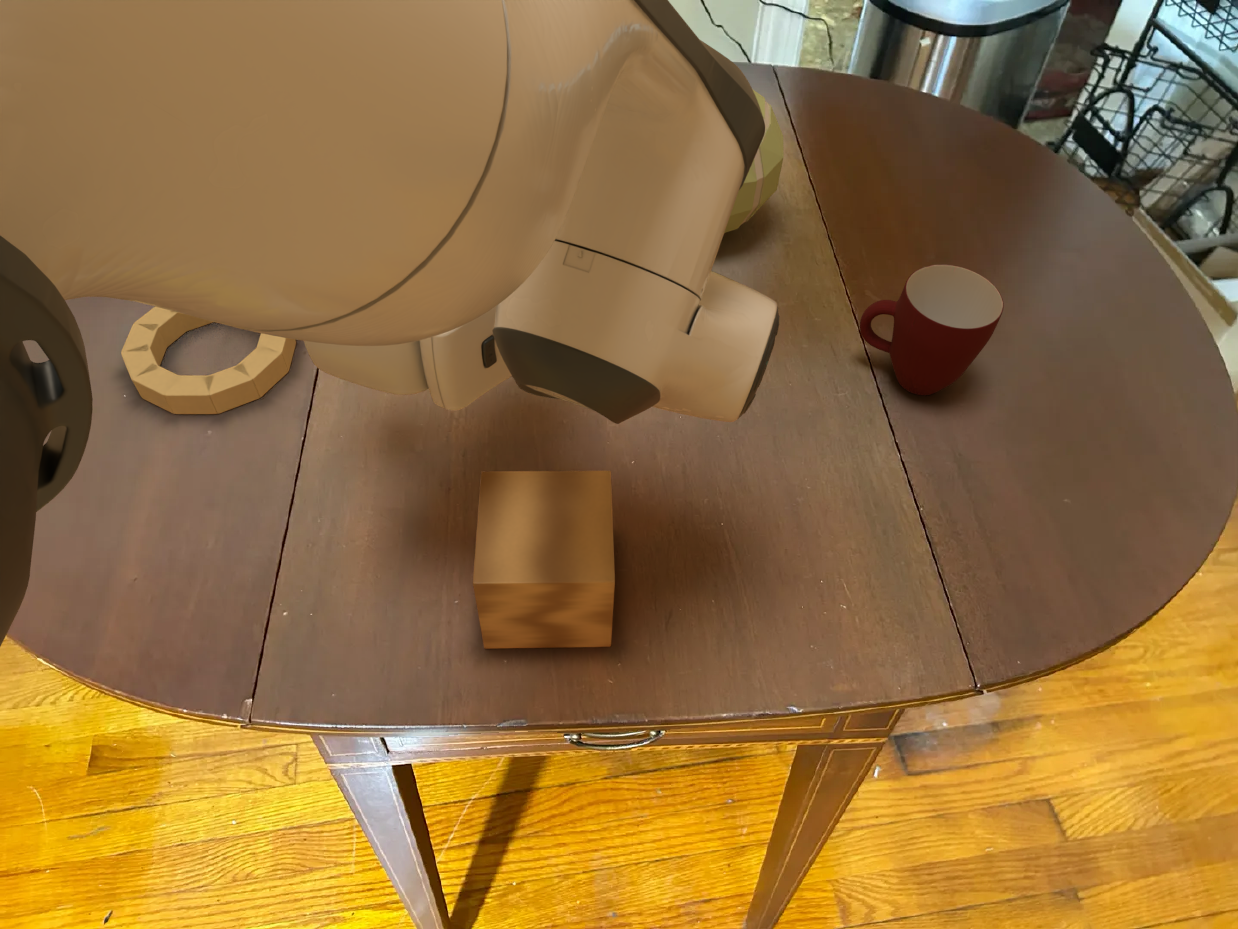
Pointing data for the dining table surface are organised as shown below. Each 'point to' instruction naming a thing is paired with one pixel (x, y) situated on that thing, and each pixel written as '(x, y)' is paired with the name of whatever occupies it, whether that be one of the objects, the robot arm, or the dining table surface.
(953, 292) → the mug
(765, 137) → the decorative sphere
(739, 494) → the dining table surface
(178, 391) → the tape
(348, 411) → the dining table surface
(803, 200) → the dining table surface
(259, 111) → the robot arm
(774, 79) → the dining table surface
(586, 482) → the block stand
